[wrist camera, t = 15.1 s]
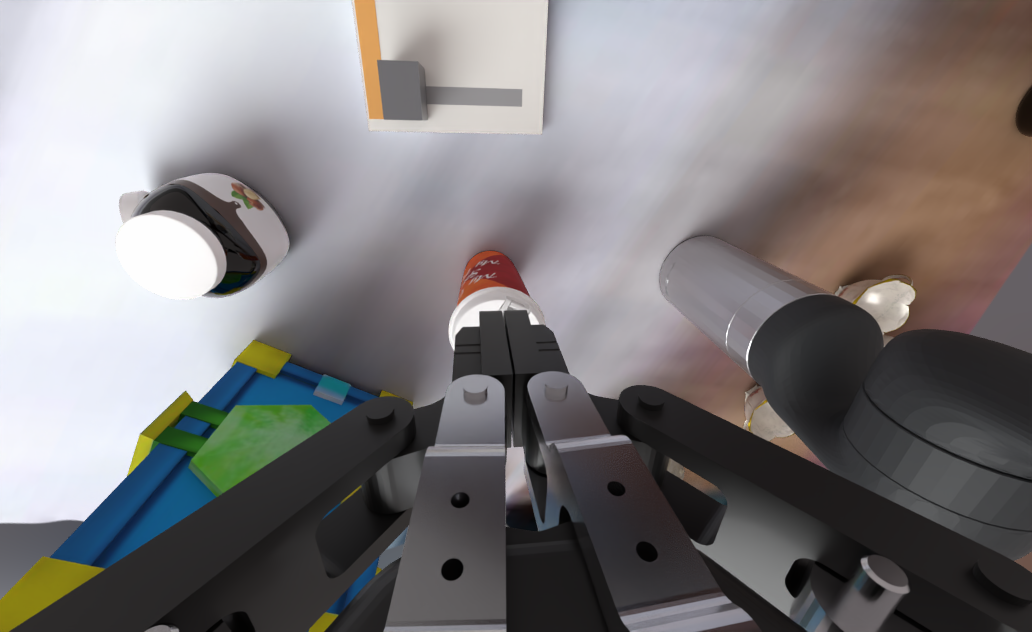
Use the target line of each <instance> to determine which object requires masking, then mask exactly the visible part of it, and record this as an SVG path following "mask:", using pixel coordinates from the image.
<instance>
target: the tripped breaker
mask: <svg viewBox="0 0 1032 632" xmlns="http://www.w3.org/2000/svg"><path fill="white" fill-rule="evenodd" d="M377 66H378V74H379V83H380V92H381V100H382V109H383V118H384V120H421V121H423V120H428V110H427V96H426V81H425V69H424V67H423V66H422V65H421V64H420V63H419V62H418V61H396V60H377Z"/></svg>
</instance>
